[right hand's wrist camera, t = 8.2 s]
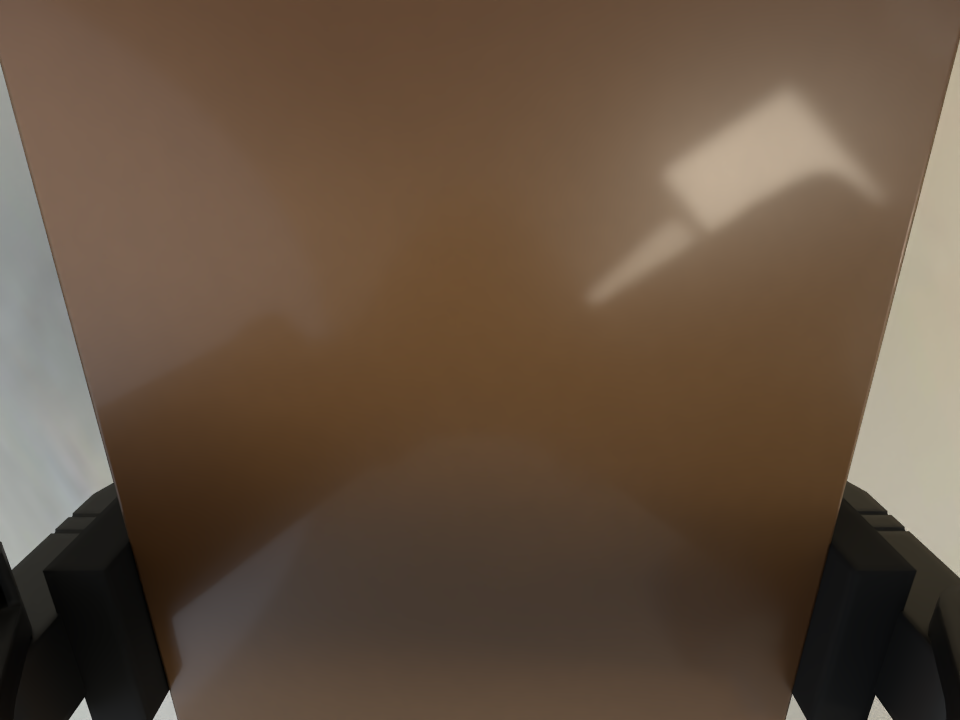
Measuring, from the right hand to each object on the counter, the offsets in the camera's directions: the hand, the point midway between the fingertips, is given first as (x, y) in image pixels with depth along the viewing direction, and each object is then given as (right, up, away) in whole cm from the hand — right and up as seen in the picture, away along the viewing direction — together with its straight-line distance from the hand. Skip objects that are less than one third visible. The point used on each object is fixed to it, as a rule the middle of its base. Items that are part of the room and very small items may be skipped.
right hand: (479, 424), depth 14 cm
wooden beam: (0, +22, -8) cm, 23 cm away
